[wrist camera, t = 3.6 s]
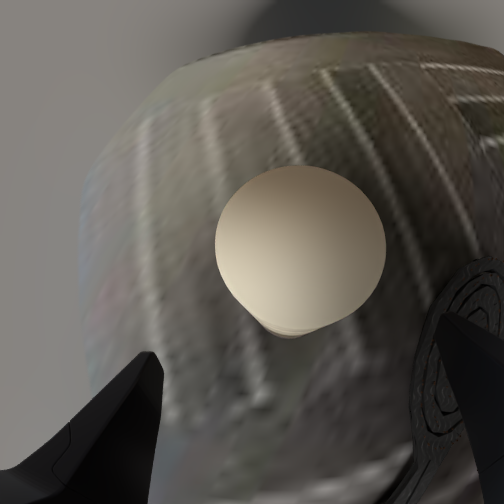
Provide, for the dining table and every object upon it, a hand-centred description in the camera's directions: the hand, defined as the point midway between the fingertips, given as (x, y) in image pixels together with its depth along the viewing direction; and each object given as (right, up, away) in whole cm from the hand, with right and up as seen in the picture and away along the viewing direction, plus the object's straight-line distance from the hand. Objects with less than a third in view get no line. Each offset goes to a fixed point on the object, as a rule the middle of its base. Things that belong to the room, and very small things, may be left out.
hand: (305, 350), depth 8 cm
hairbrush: (+11, -10, +7) cm, 16 cm away
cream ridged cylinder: (+1, -1, +10) cm, 10 cm away
